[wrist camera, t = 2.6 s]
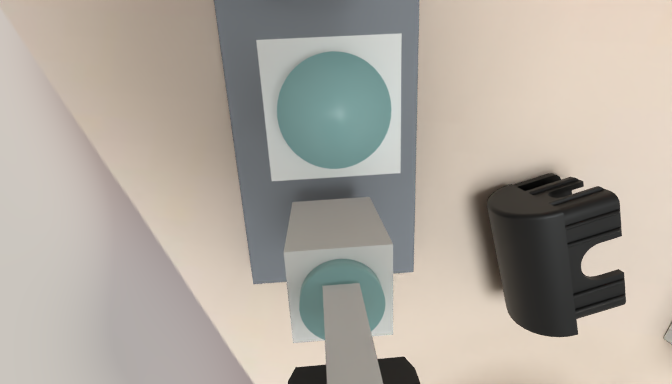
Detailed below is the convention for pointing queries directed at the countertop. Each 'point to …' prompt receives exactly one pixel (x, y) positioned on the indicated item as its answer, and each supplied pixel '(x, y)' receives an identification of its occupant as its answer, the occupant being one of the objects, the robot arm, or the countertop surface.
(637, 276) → the countertop surface
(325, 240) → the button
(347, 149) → the button mid
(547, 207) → the end cap
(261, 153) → the mount
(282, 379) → the countertop surface
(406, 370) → the robot arm
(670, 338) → the supplement box
